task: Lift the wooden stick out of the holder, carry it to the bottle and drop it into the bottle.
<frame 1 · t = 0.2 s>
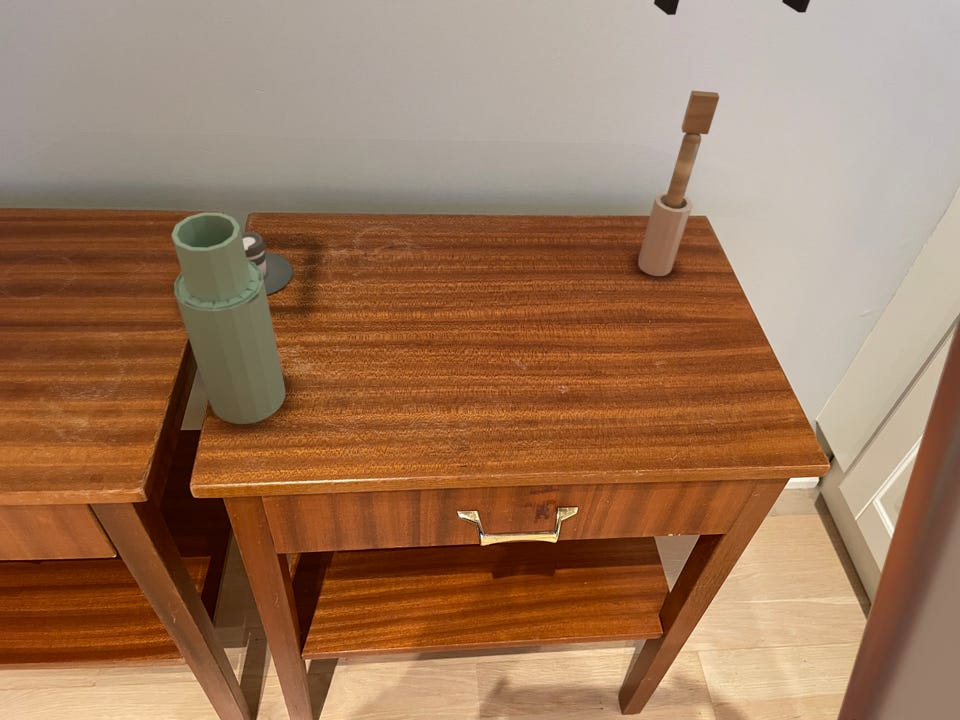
hand: (730, 8, 66), 29 cm above the nightstand, tool pointing down, fingers open, 13 cm apart
coffee cup: (254, 277, 81), on the nightstand
holder: (654, 265, 86), on the nightstand
bottle: (248, 396, 68), on the nightstand
wooden stick: (655, 262, 86), resting on holder
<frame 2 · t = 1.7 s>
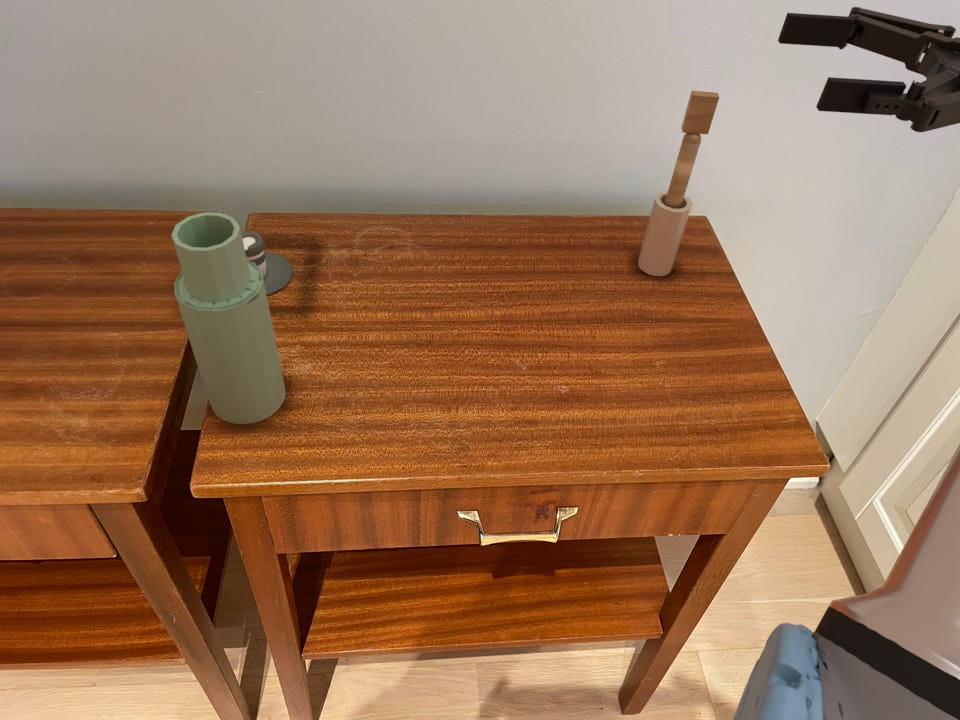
hand: (801, 59, 68), 25 cm above the nightstand, tool horizontal, fingers open, 13 cm apart
nothing on the nightstand moved.
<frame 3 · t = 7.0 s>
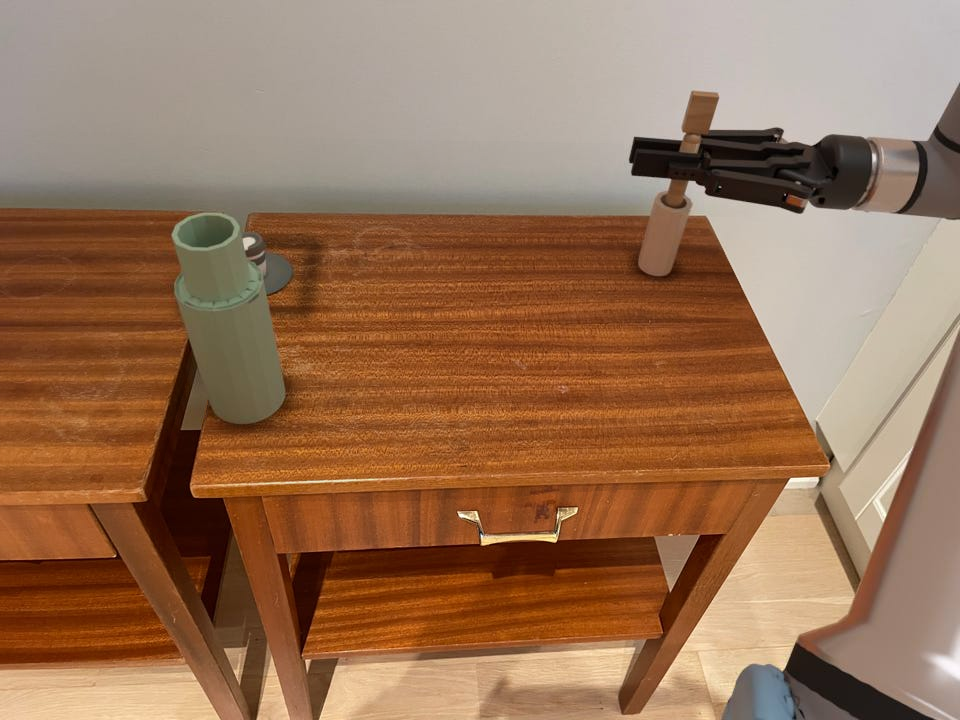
hand: (633, 156, 76), 14 cm above the nightstand, tool horizontal, fingers closed on wooden stick, 2 cm apart
wooden stick: (655, 262, 86), resting on holder, touching gripper
everything else where it was.
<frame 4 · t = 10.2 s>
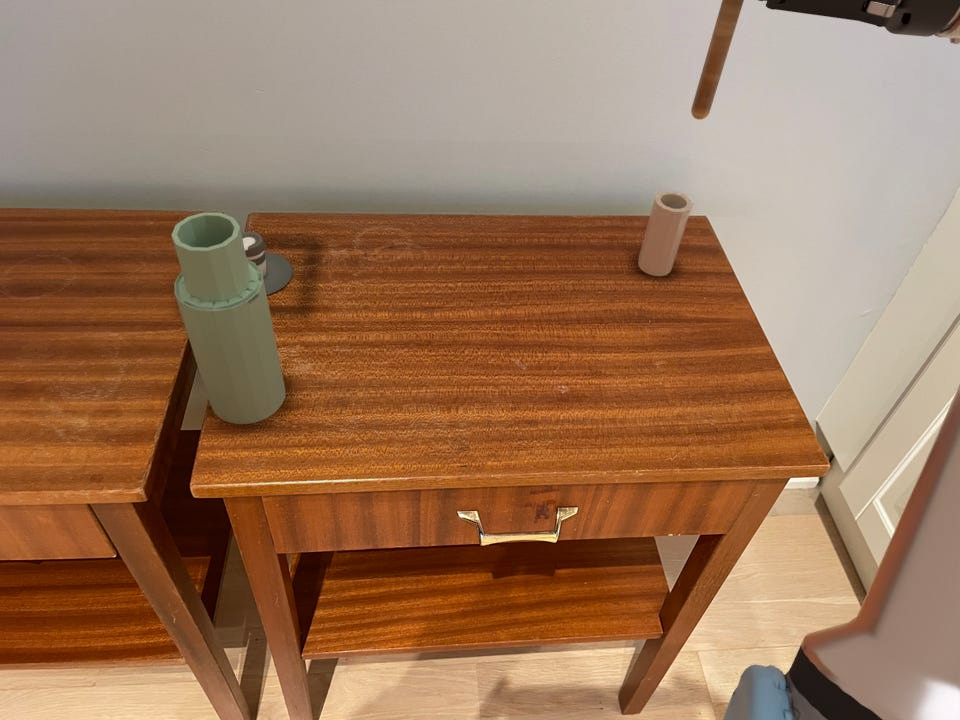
wooden stick: (698, 118, 73), point 19 cm above the nightstand, touching gripper
everything else where it was.
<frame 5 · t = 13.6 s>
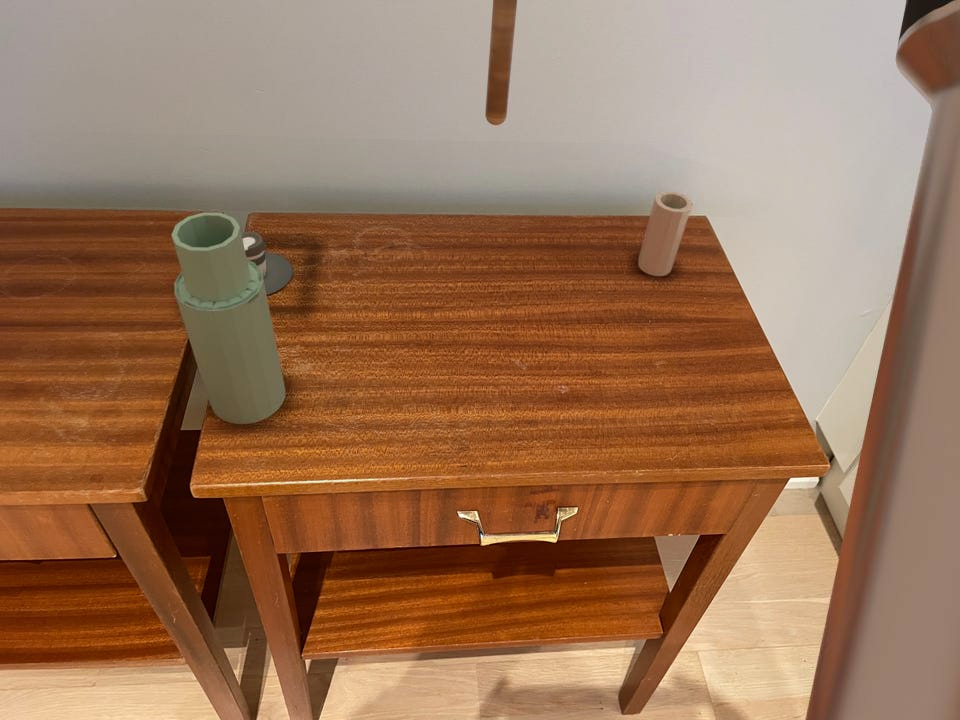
wooden stick: (495, 123, 62), point 22 cm above the nightstand, touching gripper
everything else where it was.
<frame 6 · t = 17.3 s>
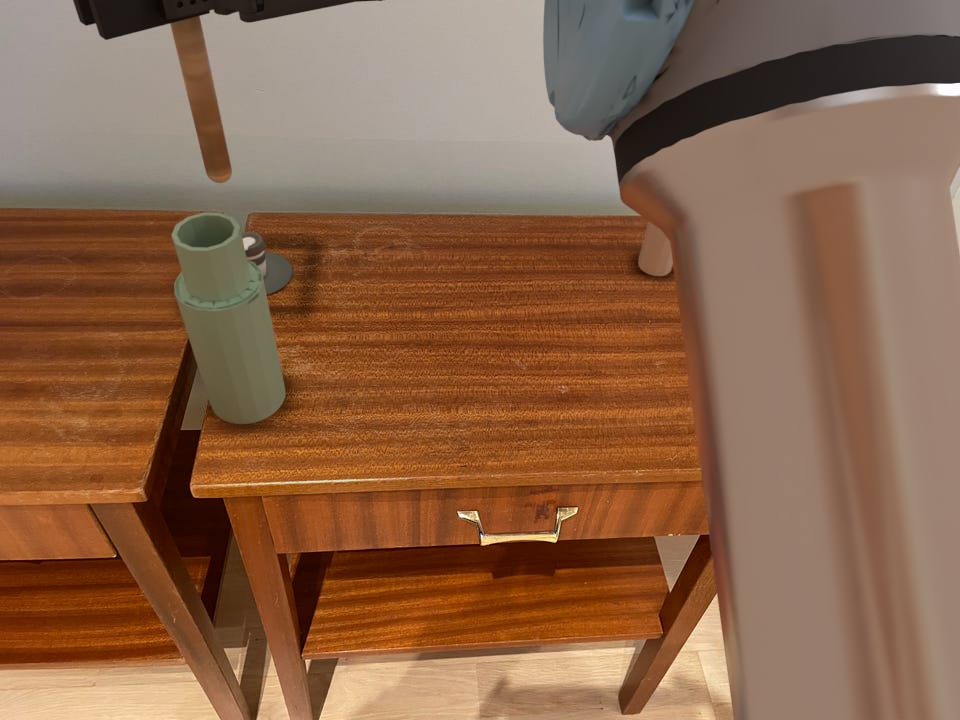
hand: (85, 5, 41), 36 cm above the nightstand, tool horizontal, fingers closed on wooden stick, 2 cm apart
wooden stick: (221, 181, 53), point 23 cm above the nightstand, touching gripper
everything else where it was.
when the fingers open (28 cm above the nightstand, at t = 20.6 s): wooden stick drops 13 cm, resting on bottle.
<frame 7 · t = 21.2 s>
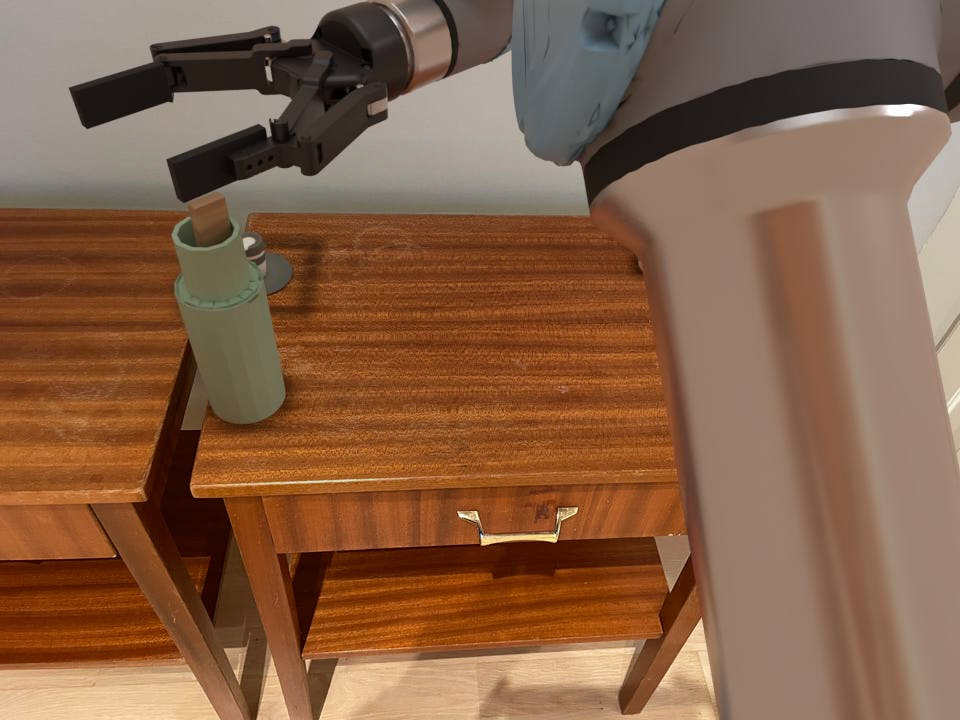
hand: (123, 143, 46), 28 cm above the nightstand, tool horizontal, fingers open, 11 cm apart
wooden stick: (247, 392, 68), point 1 cm above the nightstand, touching bottle
everything else where it was.
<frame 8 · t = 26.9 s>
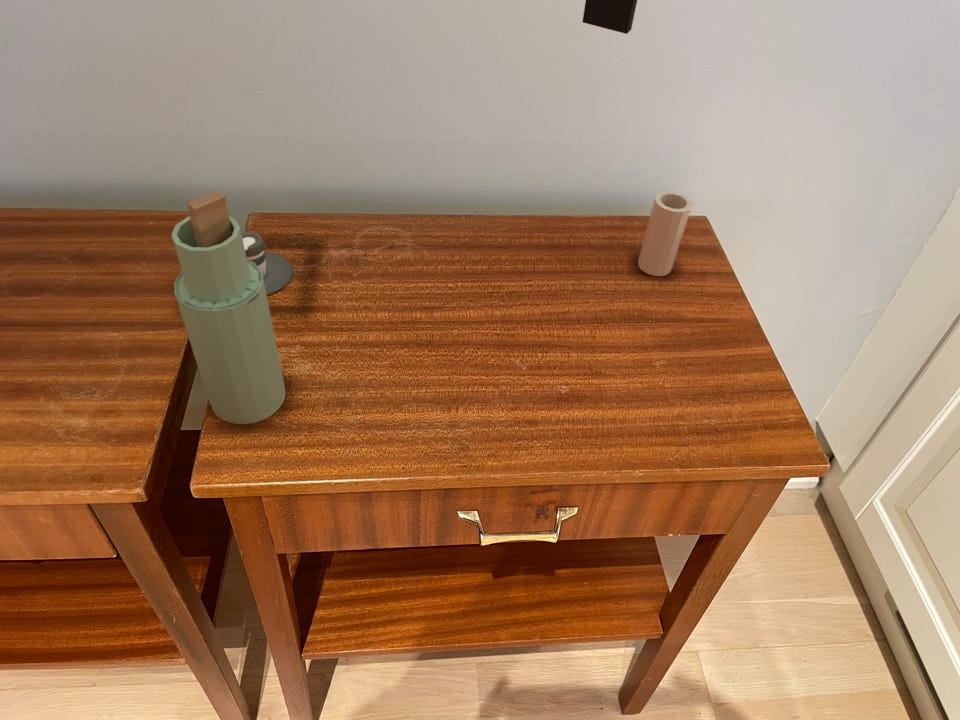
nothing on the nightstand moved.
at the end: wooden stick 0.0 cm off-centre in the bottle, point 0.6 cm above the bottle's base; the gripper is holding nothing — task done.
